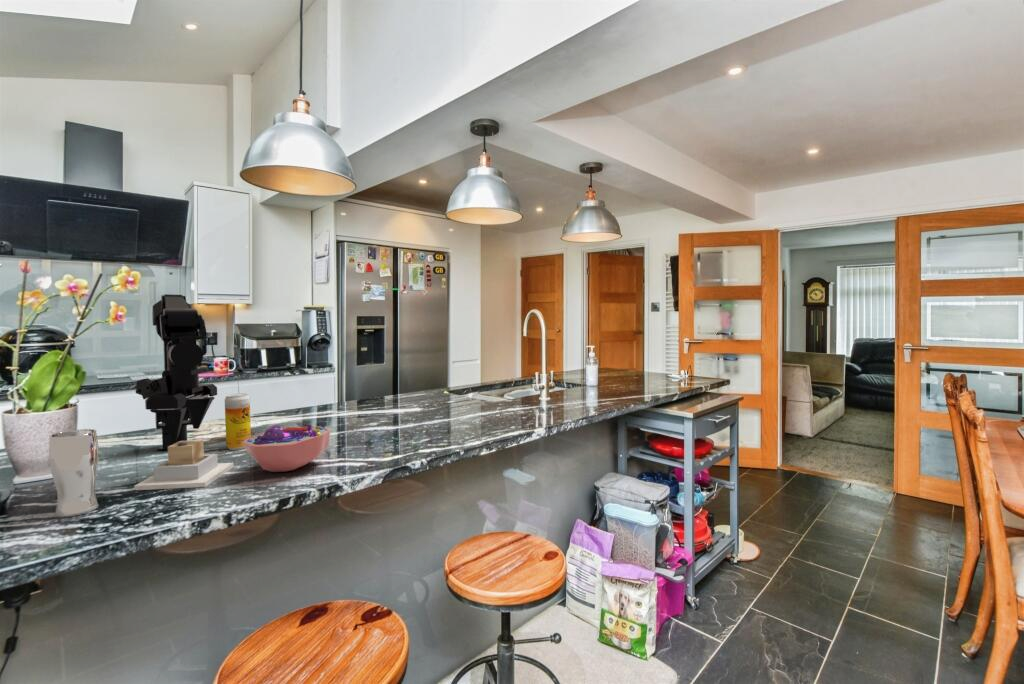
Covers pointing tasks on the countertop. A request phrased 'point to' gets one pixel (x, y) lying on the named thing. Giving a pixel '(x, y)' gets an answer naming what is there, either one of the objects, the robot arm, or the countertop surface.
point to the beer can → (237, 420)
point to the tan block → (186, 452)
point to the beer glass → (74, 470)
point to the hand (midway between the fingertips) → (185, 433)
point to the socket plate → (185, 474)
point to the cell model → (287, 447)
